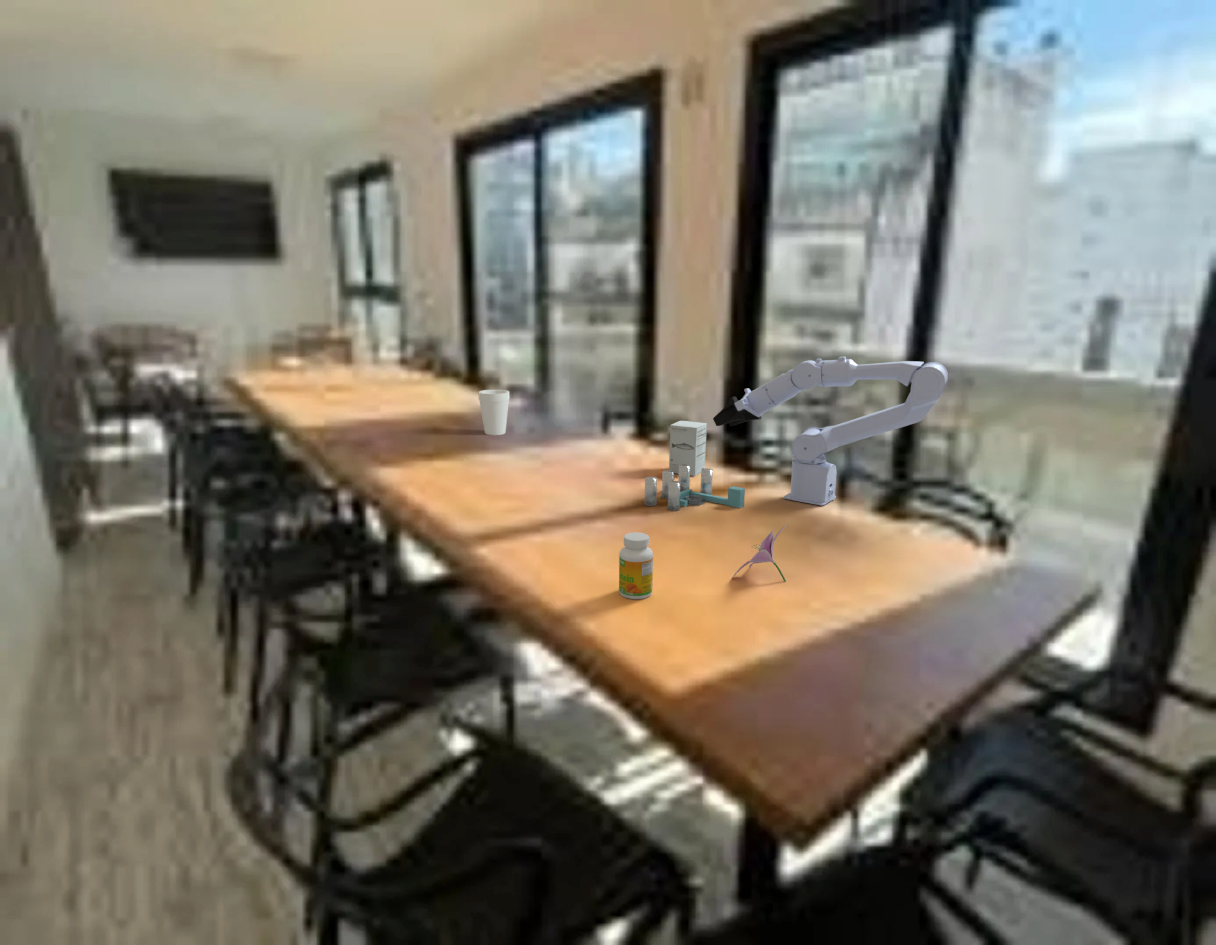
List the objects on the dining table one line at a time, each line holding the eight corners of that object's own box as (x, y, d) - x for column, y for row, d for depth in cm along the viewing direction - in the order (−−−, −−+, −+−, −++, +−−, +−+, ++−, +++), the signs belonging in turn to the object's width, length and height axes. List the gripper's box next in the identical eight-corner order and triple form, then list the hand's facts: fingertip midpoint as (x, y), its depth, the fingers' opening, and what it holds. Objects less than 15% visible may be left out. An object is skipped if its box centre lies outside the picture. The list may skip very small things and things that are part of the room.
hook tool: (744, 505, 176) (744, 488, 175) (725, 515, 169) (725, 497, 168) (688, 495, 184) (689, 478, 183) (668, 503, 177) (668, 486, 176)
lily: (781, 567, 143) (757, 520, 143) (825, 563, 133) (799, 512, 132) (733, 601, 138) (708, 552, 137) (775, 599, 127) (748, 546, 127)
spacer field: (713, 494, 184) (714, 469, 183) (675, 511, 172) (676, 484, 170) (681, 488, 189) (682, 463, 188) (642, 504, 176) (642, 478, 175)
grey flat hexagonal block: (707, 503, 179) (707, 497, 178) (696, 508, 175) (696, 501, 175) (691, 500, 181) (691, 494, 181) (681, 504, 178) (681, 498, 177)
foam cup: (474, 434, 248) (473, 393, 244) (487, 429, 256) (486, 388, 253) (503, 436, 245) (501, 394, 242) (515, 431, 254) (514, 390, 250)
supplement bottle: (611, 593, 129) (612, 536, 127) (634, 584, 133) (635, 528, 130) (636, 602, 125) (636, 544, 123) (659, 593, 129) (660, 536, 127)
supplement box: (667, 473, 203) (669, 424, 200) (679, 467, 209) (680, 419, 206) (695, 477, 200) (696, 427, 197) (705, 470, 206) (707, 422, 203)
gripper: (775, 380, 187) (727, 407, 194) (752, 377, 174) (701, 406, 181) (788, 406, 186) (739, 433, 192) (766, 405, 173) (714, 434, 180)
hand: (721, 422), depth 187 cm, fingers open, 7 cm apart
